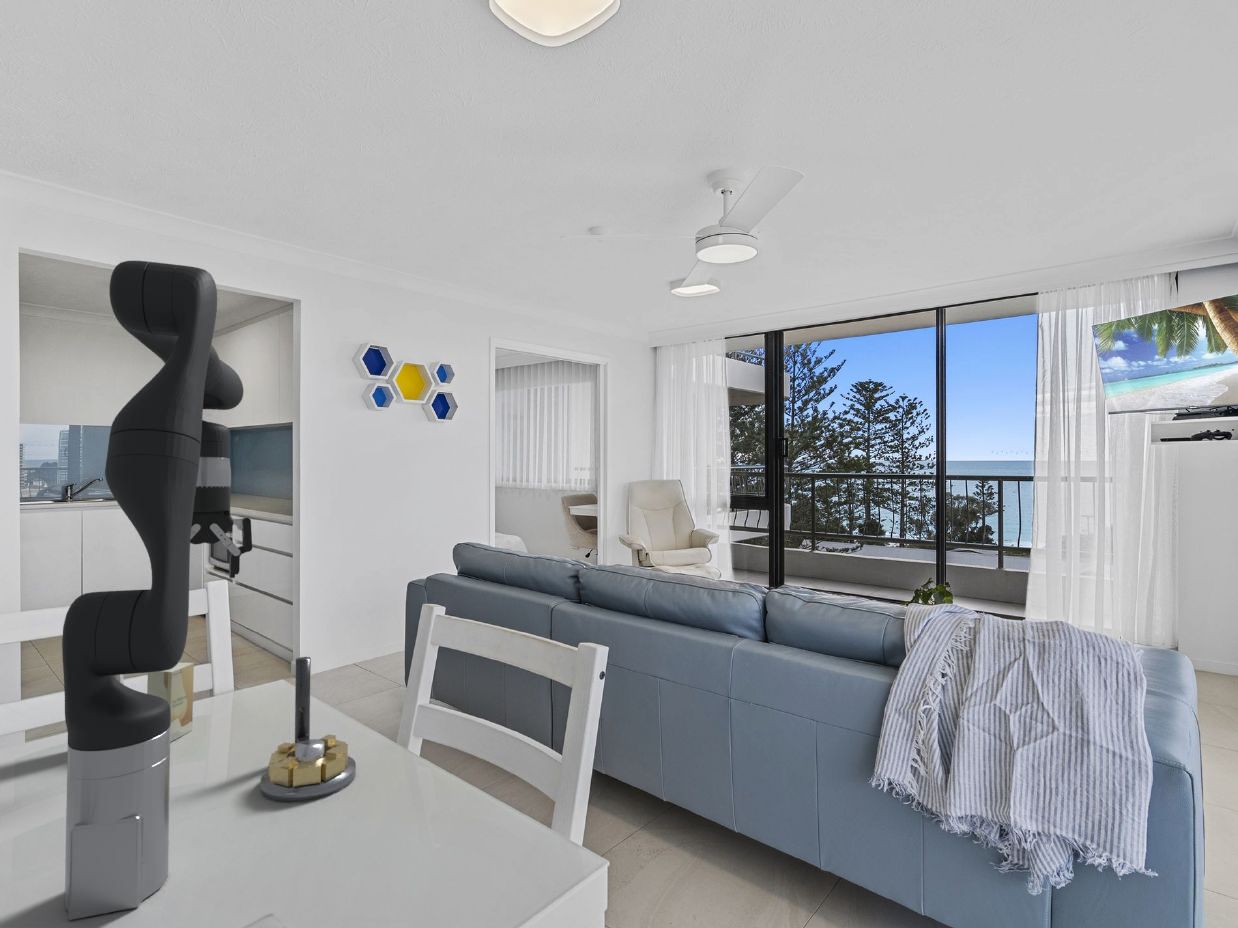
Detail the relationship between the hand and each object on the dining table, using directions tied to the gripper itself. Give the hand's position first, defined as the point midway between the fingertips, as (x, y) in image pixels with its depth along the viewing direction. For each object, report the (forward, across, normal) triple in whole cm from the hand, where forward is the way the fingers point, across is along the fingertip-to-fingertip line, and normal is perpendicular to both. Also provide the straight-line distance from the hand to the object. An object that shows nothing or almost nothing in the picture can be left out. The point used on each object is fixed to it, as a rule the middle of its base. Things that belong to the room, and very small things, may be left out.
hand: (203, 579), depth 113 cm
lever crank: (+27, +13, -21) cm, 37 cm away
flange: (+29, +13, -24) cm, 39 cm away
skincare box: (+28, -4, +8) cm, 30 cm away
